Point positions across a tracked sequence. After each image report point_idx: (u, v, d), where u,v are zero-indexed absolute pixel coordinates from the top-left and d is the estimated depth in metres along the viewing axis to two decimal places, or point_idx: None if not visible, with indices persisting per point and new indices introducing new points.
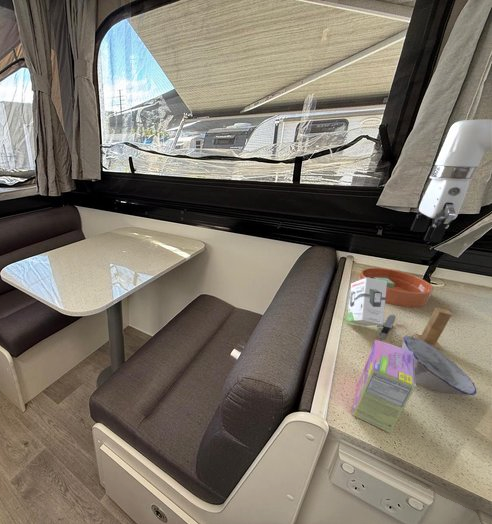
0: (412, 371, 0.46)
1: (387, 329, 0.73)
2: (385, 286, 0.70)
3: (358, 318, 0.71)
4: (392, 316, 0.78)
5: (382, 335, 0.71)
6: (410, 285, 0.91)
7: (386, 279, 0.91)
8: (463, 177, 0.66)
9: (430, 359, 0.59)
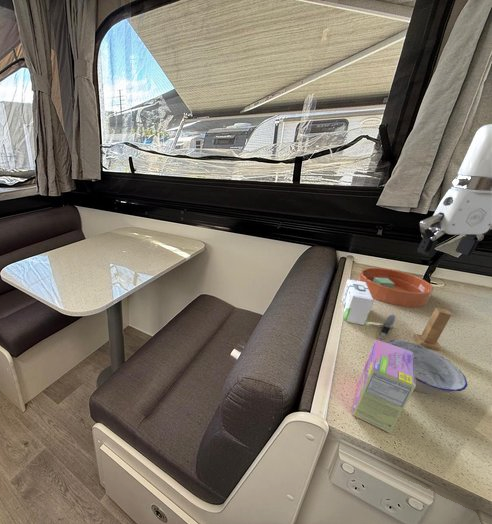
0: (412, 371, 0.46)
1: (387, 329, 0.73)
2: (365, 284, 0.80)
3: (350, 301, 0.76)
4: (392, 316, 0.78)
5: (382, 335, 0.71)
6: (410, 285, 0.91)
7: (386, 279, 0.91)
8: (464, 187, 0.60)
9: (440, 371, 0.57)
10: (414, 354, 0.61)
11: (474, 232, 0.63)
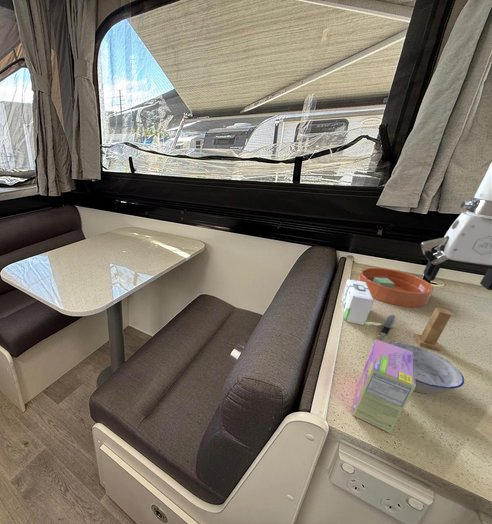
0: (412, 371, 0.46)
1: (387, 329, 0.73)
2: (365, 284, 0.80)
3: (350, 301, 0.76)
4: (392, 316, 0.78)
5: (382, 335, 0.71)
6: (410, 285, 0.91)
7: (386, 279, 0.91)
8: (472, 211, 0.56)
9: (440, 372, 0.57)
10: (414, 356, 0.61)
11: (487, 262, 0.56)
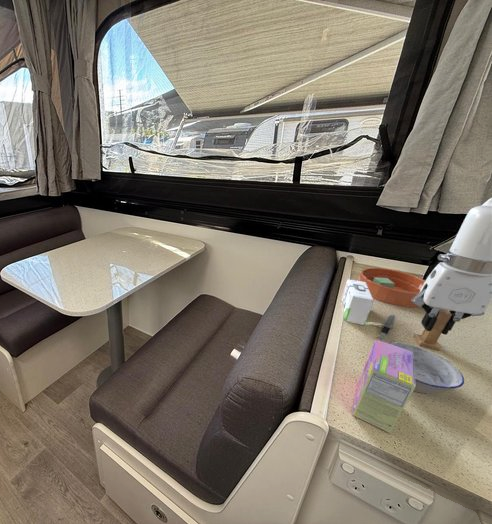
0: (412, 371, 0.46)
1: (387, 329, 0.73)
2: (365, 284, 0.80)
3: (350, 301, 0.76)
4: (392, 316, 0.78)
5: (382, 335, 0.71)
6: (410, 285, 0.91)
7: (386, 279, 0.91)
8: (448, 263, 0.61)
9: (440, 372, 0.57)
10: (414, 356, 0.61)
11: (462, 310, 0.61)
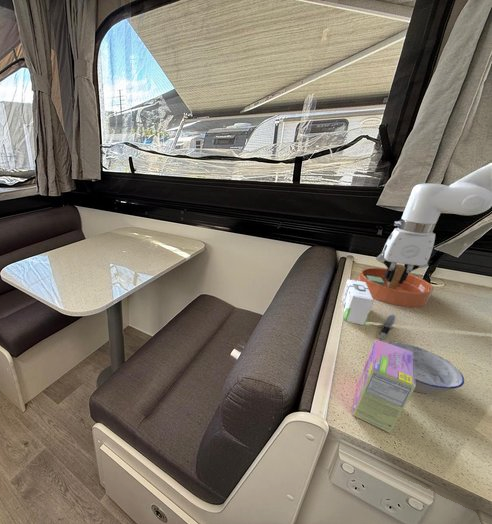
0: (412, 371, 0.46)
1: (387, 329, 0.73)
2: (365, 284, 0.80)
3: (350, 301, 0.76)
4: (392, 316, 0.78)
5: (382, 335, 0.71)
6: (410, 285, 0.91)
7: (378, 278, 0.92)
8: (400, 227, 0.81)
9: (440, 372, 0.57)
10: (414, 356, 0.61)
11: (411, 263, 0.82)
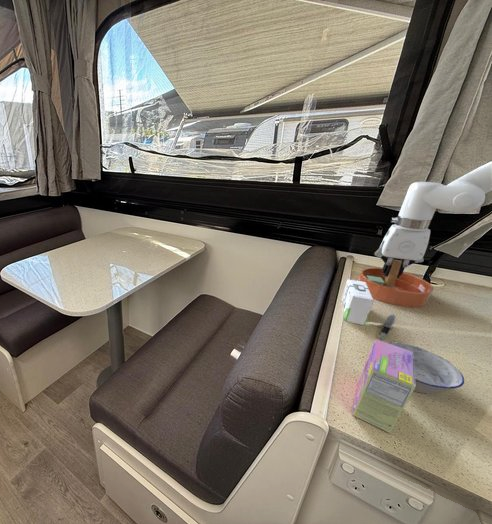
0: (412, 371, 0.46)
1: (387, 329, 0.73)
2: (365, 284, 0.80)
3: (350, 301, 0.76)
4: (392, 316, 0.78)
5: (382, 335, 0.71)
6: (410, 285, 0.91)
7: (378, 278, 0.92)
8: (397, 224, 0.85)
9: (440, 372, 0.57)
10: (414, 356, 0.61)
11: (407, 258, 0.85)
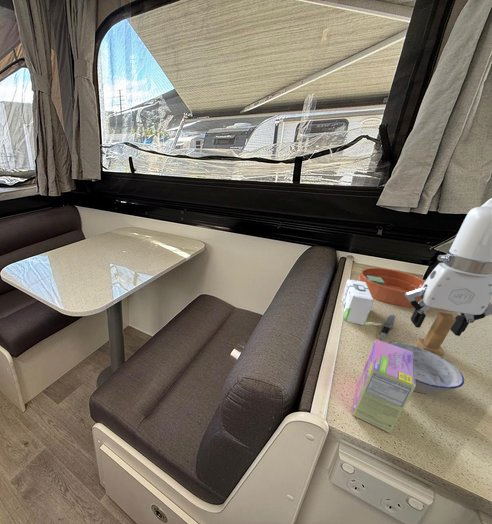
0: (412, 371, 0.46)
1: (387, 329, 0.73)
2: (365, 284, 0.80)
3: (350, 301, 0.76)
4: (392, 316, 0.78)
5: (382, 335, 0.71)
6: (410, 285, 0.91)
7: (378, 278, 0.92)
8: (447, 264, 0.61)
9: (440, 372, 0.57)
10: (414, 356, 0.61)
11: (462, 311, 0.61)
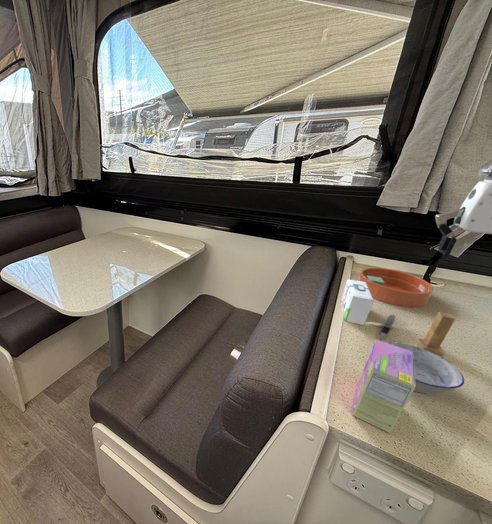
0: (412, 371, 0.46)
1: (387, 329, 0.73)
2: (365, 284, 0.80)
3: (350, 301, 0.76)
4: (392, 316, 0.78)
5: (382, 335, 0.71)
6: (410, 285, 0.91)
7: (378, 278, 0.92)
8: (491, 178, 0.53)
9: (440, 372, 0.57)
10: (414, 356, 0.61)
11: None
